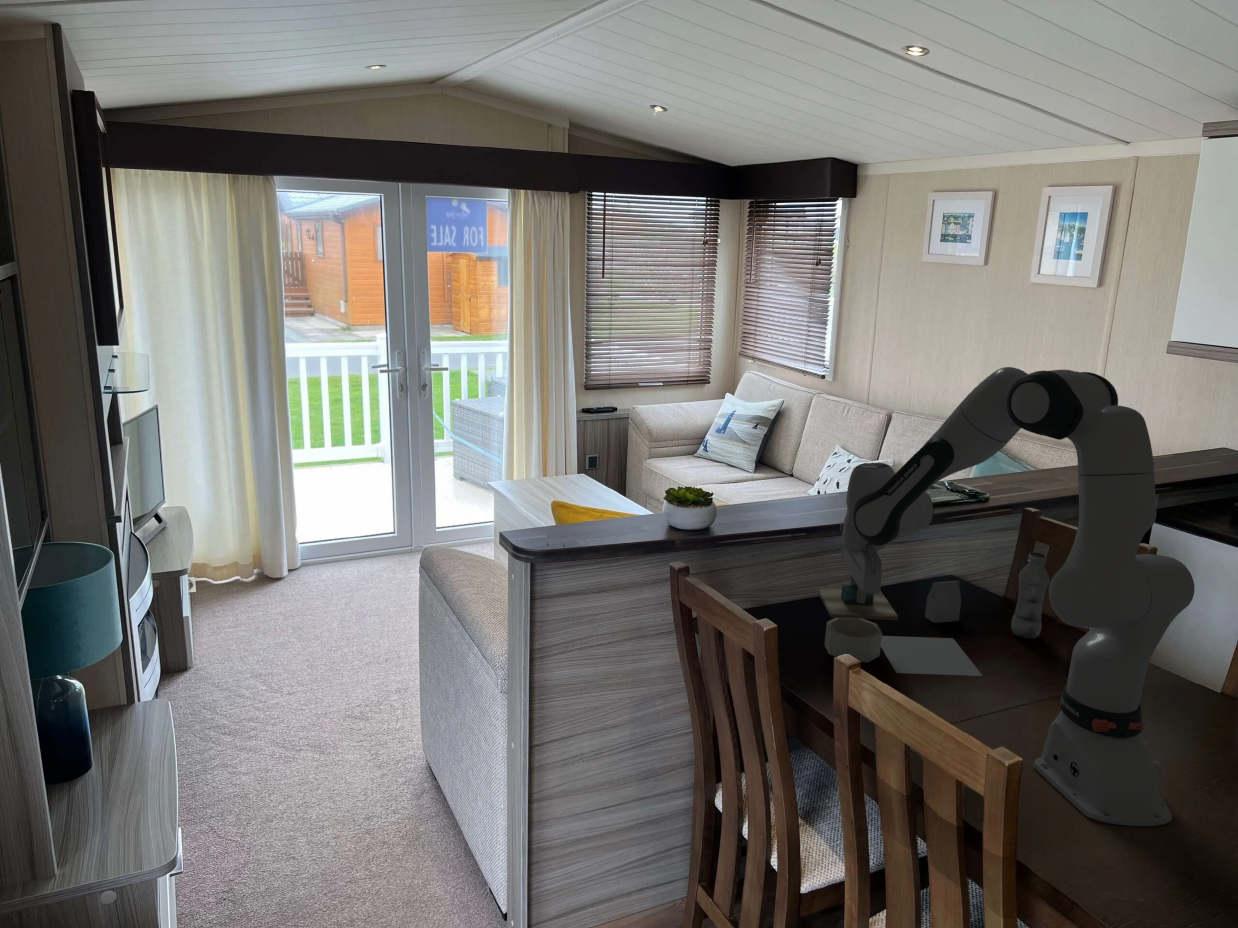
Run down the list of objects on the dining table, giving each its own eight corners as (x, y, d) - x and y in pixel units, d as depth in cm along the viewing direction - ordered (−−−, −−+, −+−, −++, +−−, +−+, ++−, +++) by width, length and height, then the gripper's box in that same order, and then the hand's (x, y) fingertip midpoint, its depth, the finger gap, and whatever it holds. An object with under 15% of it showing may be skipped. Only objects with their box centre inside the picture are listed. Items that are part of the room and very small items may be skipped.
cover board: (897, 619, 191) (899, 603, 190) (830, 617, 191) (832, 600, 190) (880, 593, 204) (882, 577, 203) (817, 591, 204) (819, 575, 203)
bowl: (883, 665, 195) (886, 639, 193) (831, 663, 195) (834, 637, 193) (870, 642, 205) (872, 617, 204) (821, 640, 205) (823, 616, 204)
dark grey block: (958, 623, 218) (963, 583, 215) (933, 625, 216) (938, 585, 213) (949, 616, 221) (954, 578, 218) (924, 618, 219) (929, 580, 217)
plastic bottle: (1033, 630, 214) (1046, 550, 209) (1044, 643, 208) (1057, 561, 203) (1005, 628, 215) (1017, 548, 210) (1014, 641, 209) (1027, 559, 204)
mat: (982, 678, 190) (982, 675, 190) (896, 675, 190) (896, 672, 190) (952, 640, 208) (953, 638, 208) (873, 637, 208) (874, 635, 208)
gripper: (892, 554, 183) (884, 617, 187) (867, 522, 203) (860, 579, 207) (861, 553, 183) (854, 616, 187) (838, 520, 203) (832, 578, 207)
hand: (857, 597), depth 197 cm, fingers closed on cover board, 3 cm apart
